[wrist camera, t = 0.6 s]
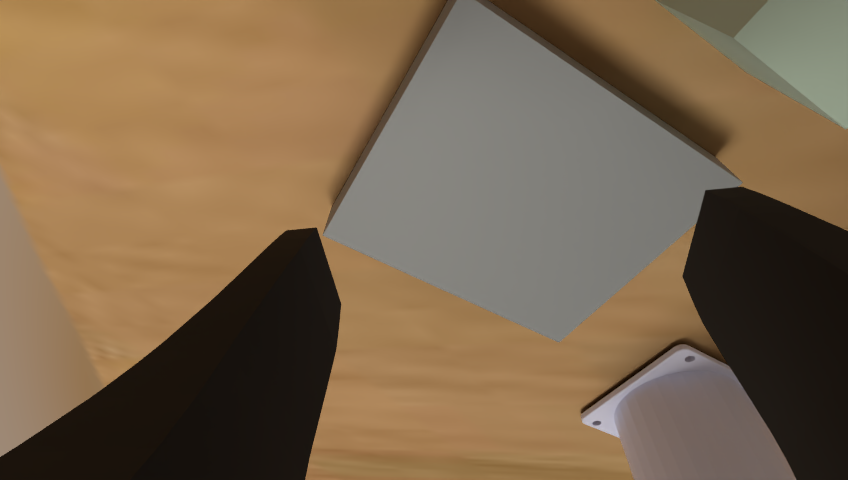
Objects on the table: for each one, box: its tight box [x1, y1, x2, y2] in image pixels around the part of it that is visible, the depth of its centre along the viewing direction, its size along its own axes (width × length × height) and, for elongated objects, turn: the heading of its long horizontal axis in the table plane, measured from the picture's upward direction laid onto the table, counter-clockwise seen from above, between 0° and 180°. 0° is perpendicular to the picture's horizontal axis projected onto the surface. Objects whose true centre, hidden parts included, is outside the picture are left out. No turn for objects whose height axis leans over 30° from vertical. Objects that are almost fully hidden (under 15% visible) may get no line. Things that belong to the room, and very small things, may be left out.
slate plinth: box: [323, 0, 743, 342], centre depth 18 cm, size 12×10×2 cm
